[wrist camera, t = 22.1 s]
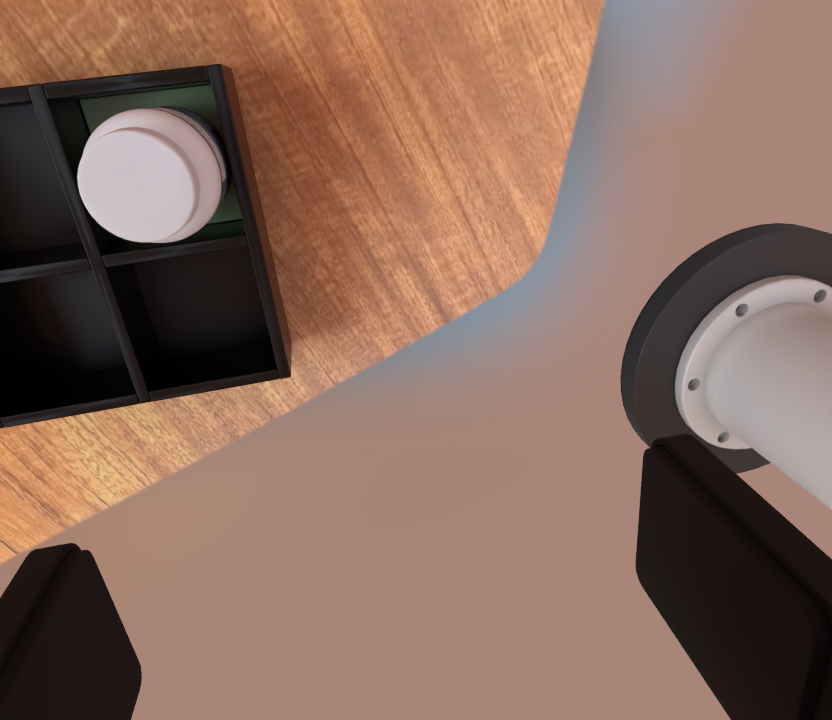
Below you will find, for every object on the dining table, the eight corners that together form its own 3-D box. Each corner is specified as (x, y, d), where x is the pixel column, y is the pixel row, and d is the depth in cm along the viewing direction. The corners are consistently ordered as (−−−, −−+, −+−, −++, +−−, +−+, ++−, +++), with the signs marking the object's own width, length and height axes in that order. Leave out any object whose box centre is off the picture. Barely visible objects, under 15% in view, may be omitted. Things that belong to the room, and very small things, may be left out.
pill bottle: (162, 234, 30) (115, 284, 22) (97, 135, 28) (19, 153, 20) (253, 188, 30) (239, 223, 22) (196, 86, 28) (157, 83, 20)
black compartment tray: (231, 67, 29) (220, 63, 24) (291, 343, 35) (291, 377, 31) (-99, 104, 27) (-170, 106, 23) (28, 388, 33) (-10, 430, 29)
